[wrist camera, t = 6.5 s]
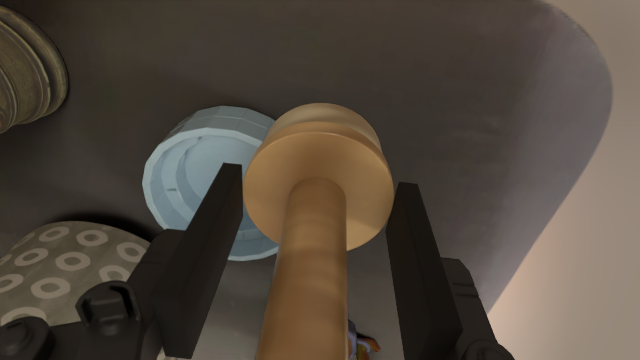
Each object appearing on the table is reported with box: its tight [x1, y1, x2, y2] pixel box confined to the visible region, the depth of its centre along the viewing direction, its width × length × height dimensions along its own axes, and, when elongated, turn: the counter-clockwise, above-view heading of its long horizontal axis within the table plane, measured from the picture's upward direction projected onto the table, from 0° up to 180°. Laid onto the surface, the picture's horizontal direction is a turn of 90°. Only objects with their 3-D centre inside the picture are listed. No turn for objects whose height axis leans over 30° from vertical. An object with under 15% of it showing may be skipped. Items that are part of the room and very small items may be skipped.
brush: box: [243, 103, 394, 360], centre depth 13 cm, size 6×6×12 cm
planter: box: [0, 221, 177, 360], centre depth 33 cm, size 19×19×18 cm
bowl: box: [142, 106, 279, 261], centre depth 31 cm, size 13×13×5 cm
